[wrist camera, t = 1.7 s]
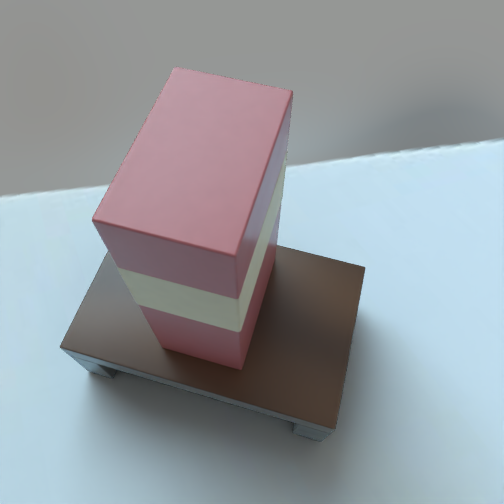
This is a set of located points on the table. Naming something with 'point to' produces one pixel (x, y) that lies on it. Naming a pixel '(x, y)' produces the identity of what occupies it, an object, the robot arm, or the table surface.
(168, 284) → the packet
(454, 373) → the table surface
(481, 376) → the table surface
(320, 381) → the shelf
